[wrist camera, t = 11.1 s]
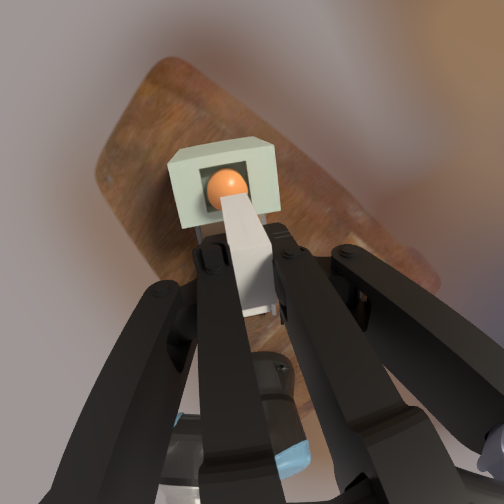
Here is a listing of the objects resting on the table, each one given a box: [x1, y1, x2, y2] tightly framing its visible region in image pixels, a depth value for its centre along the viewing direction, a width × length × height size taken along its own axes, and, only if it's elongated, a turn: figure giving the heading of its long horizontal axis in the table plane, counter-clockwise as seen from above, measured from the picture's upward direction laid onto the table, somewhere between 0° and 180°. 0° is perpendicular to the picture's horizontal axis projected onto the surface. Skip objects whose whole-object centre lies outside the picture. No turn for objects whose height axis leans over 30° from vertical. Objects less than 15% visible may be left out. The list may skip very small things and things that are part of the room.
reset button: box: [207, 168, 248, 211], centre depth 22 cm, size 3×3×2 cm
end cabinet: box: [167, 136, 281, 229], centre depth 28 cm, size 6×9×11 cm, turn 98°
